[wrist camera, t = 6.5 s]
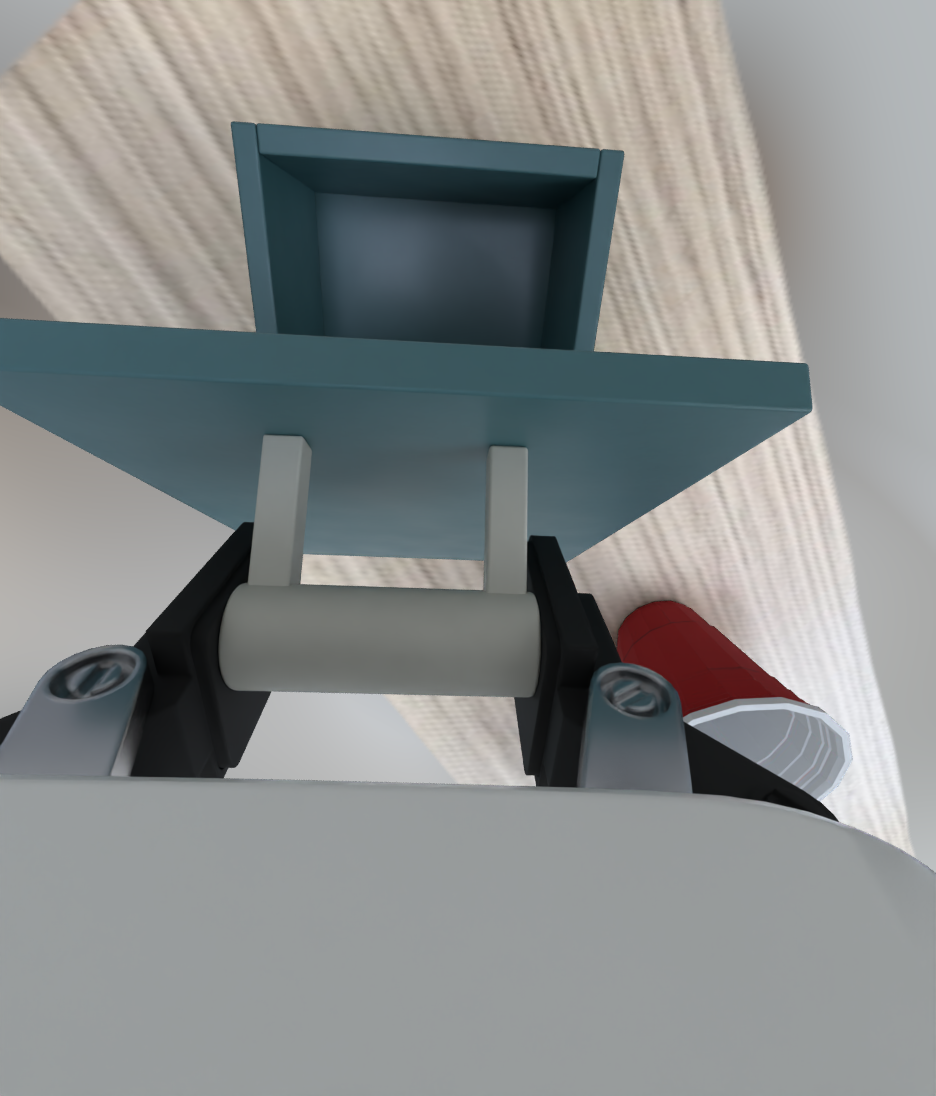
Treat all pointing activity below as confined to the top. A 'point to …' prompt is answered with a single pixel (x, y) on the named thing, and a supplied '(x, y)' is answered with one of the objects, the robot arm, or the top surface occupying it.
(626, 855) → the robot arm
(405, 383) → the lid
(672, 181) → the top surface
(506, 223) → the chest
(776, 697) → the plastic cup
